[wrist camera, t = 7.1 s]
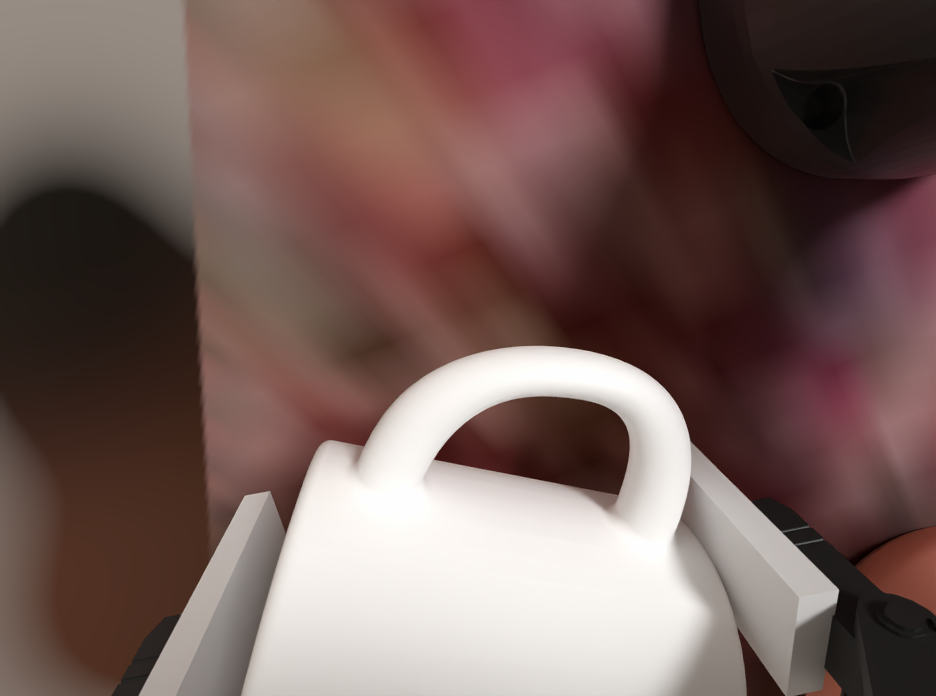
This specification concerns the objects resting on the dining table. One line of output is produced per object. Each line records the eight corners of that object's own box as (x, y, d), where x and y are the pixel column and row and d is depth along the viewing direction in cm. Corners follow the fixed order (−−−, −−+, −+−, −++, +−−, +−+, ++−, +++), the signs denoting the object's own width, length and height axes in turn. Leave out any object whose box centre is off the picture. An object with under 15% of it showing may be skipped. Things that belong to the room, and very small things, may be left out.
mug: (557, 625, 19) (650, 931, 11) (293, 590, 17) (192, 925, 9) (686, 341, 15) (955, 515, 7) (365, 257, 13) (292, 373, 6)
